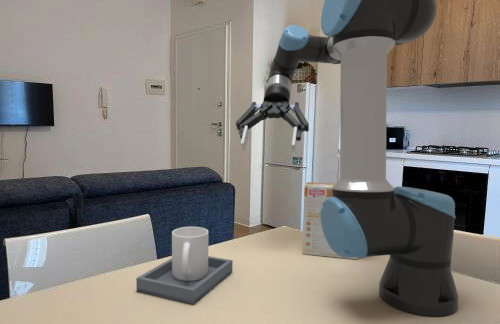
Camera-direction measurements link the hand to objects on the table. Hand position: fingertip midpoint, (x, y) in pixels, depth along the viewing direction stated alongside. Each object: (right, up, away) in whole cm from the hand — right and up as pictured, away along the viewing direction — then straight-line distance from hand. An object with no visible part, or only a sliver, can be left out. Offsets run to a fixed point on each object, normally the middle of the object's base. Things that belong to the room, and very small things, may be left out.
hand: (267, 147), depth 99 cm
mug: (-19, -30, -14) cm, 38 cm away
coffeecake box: (+18, -30, +7) cm, 35 cm away
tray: (-19, -31, -14) cm, 39 cm away
